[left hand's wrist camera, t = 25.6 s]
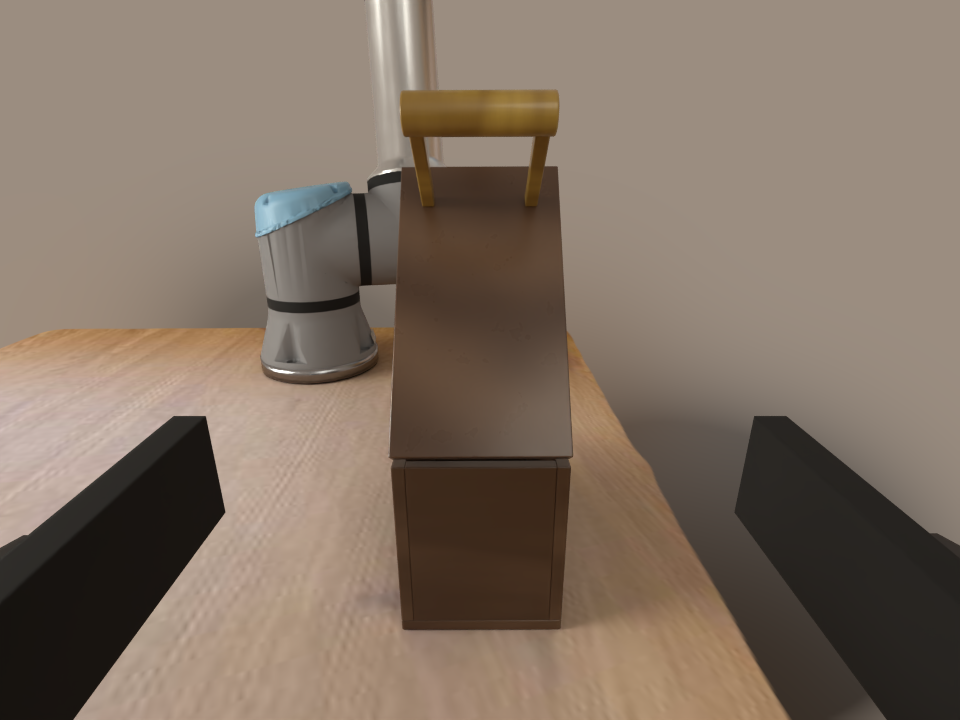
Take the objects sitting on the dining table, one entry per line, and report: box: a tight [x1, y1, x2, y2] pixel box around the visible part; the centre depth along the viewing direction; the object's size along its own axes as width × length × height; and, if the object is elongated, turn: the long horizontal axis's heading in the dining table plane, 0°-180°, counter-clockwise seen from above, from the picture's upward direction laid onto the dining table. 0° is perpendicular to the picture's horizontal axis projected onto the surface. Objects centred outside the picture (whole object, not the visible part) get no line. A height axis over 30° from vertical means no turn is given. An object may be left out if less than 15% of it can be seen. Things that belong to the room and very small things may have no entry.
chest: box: [391, 459, 571, 630], centre depth 36 cm, size 16×9×11 cm, turn 0°
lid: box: [388, 90, 573, 460], centre depth 25 cm, size 17×9×9 cm
